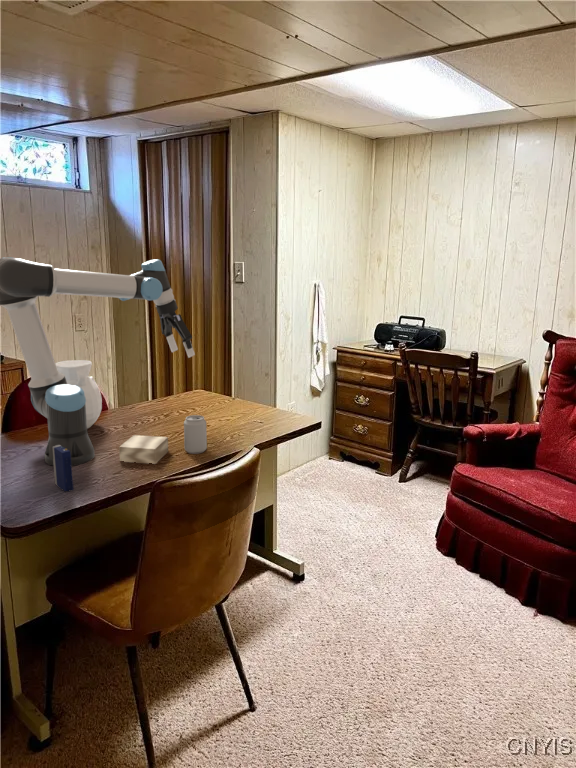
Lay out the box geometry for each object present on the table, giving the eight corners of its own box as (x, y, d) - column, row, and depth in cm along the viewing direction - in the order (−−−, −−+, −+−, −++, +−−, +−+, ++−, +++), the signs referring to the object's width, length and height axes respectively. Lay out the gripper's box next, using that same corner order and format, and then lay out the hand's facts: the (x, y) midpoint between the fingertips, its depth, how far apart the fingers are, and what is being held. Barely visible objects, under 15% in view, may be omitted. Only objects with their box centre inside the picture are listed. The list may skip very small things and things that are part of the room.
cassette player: (73, 490, 161) (70, 450, 158) (65, 492, 159) (62, 452, 157) (62, 482, 166) (59, 443, 163) (54, 484, 165) (51, 445, 162)
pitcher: (46, 424, 220) (40, 361, 214) (94, 417, 231) (90, 356, 225) (60, 437, 205) (54, 369, 200) (110, 428, 216) (106, 364, 210)
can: (209, 447, 197) (208, 414, 194) (203, 455, 190) (203, 420, 187) (188, 446, 198) (187, 413, 195) (181, 454, 191) (180, 419, 188)
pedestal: (119, 461, 183) (119, 446, 182) (134, 449, 195) (133, 435, 193) (155, 463, 181) (155, 449, 180) (168, 451, 193) (167, 437, 192)
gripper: (189, 300, 202) (207, 354, 211) (158, 295, 221) (176, 345, 230) (171, 308, 198) (190, 362, 207) (141, 302, 217) (160, 352, 226)
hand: (183, 353), depth 218 cm, fingers open, 13 cm apart
